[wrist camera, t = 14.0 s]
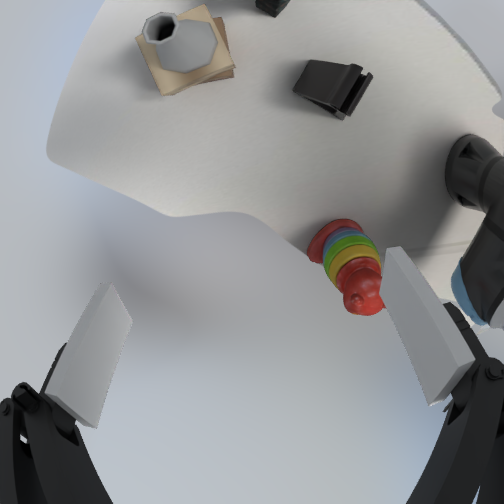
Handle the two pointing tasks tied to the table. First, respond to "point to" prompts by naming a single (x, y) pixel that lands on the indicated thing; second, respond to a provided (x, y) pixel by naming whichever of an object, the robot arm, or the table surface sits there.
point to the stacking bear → (350, 265)
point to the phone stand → (333, 86)
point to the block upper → (180, 81)
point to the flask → (180, 42)
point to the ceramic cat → (272, 6)
